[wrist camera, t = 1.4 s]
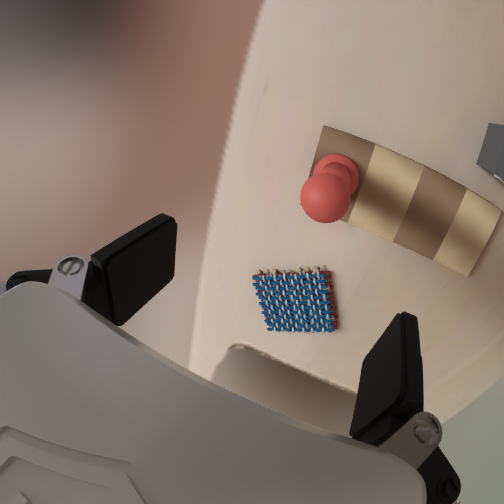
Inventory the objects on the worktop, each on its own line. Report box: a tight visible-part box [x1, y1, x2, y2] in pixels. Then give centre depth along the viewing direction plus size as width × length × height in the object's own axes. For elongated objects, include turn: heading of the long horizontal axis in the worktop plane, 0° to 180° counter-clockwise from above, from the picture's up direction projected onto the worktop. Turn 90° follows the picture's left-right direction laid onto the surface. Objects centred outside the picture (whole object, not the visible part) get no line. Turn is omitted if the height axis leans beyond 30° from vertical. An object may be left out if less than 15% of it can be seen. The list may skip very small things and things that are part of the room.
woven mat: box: [252, 265, 338, 334], centre depth 37 cm, size 10×11×2 cm
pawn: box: [300, 153, 359, 223], centre depth 23 cm, size 5×5×10 cm
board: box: [301, 126, 502, 277], centre depth 26 cm, size 9×22×1 cm, turn 77°
